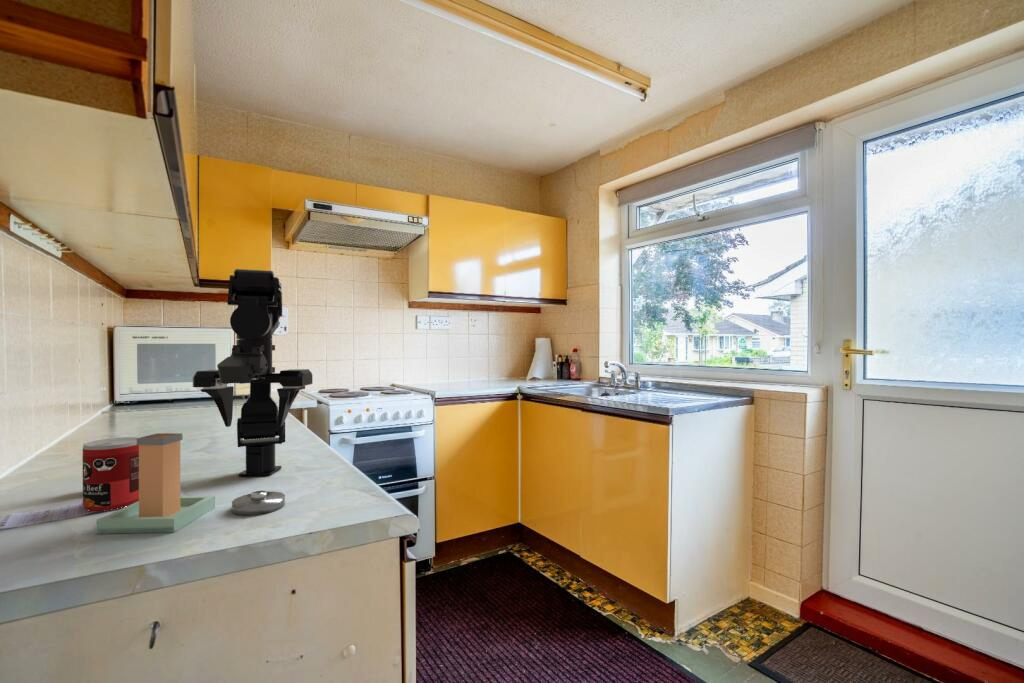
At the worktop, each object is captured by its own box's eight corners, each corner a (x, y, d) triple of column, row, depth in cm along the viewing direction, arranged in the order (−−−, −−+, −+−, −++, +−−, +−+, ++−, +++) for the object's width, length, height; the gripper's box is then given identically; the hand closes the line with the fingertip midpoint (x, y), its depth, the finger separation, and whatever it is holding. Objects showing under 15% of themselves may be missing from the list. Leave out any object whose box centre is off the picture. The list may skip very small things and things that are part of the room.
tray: (148, 508, 83) (148, 496, 83) (215, 507, 84) (215, 495, 84) (96, 533, 72) (96, 520, 72) (174, 532, 73) (174, 518, 73)
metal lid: (246, 500, 87) (246, 486, 87) (292, 499, 88) (292, 485, 88) (222, 516, 79) (222, 500, 79) (272, 515, 80) (272, 499, 80)
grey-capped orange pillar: (157, 510, 80) (157, 433, 80) (182, 510, 80) (182, 433, 80) (136, 519, 76) (136, 438, 76) (163, 519, 76) (163, 438, 76)
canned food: (73, 508, 83) (73, 443, 83) (128, 495, 90) (128, 435, 90) (95, 515, 80) (95, 447, 80) (150, 501, 87) (150, 439, 87)
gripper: (172, 339, 80) (172, 435, 80) (289, 339, 81) (289, 433, 81) (210, 339, 91) (210, 424, 91) (313, 339, 92) (313, 422, 92)
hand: (254, 426), depth 88 cm, fingers open, 9 cm apart
